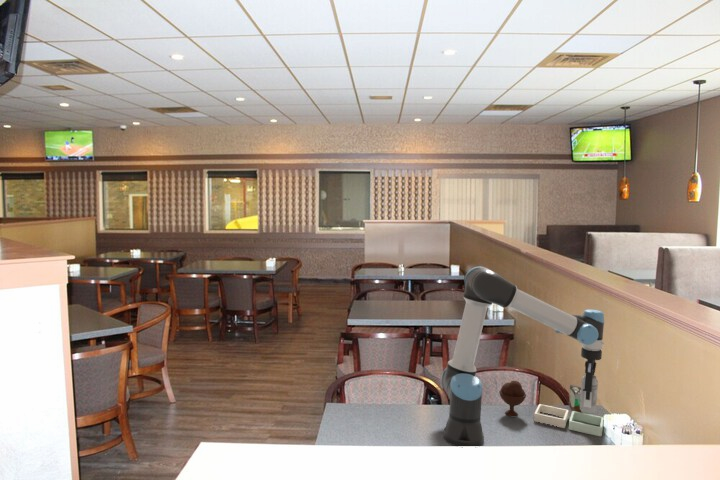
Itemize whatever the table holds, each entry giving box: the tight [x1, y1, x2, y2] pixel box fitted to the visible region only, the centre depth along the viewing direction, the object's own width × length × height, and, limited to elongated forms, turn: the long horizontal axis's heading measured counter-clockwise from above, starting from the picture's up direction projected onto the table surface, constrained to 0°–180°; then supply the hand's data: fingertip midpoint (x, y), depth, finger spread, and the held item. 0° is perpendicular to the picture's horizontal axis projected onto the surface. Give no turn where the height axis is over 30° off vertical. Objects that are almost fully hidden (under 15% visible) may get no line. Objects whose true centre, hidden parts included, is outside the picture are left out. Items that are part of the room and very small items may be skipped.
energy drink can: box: [580, 373, 599, 415], centre depth 208 cm, size 6×6×15 cm
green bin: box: [568, 411, 605, 437], centre depth 209 cm, size 12×12×4 cm
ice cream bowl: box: [499, 380, 527, 417], centre depth 219 cm, size 11×11×15 cm
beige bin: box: [533, 403, 570, 429], centre depth 215 cm, size 12×12×4 cm
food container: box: [568, 384, 582, 413], centre depth 224 cm, size 12×6×10 cm, turn 168°
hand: (588, 404), depth 208 cm, fingers closed on energy drink can, 6 cm apart
